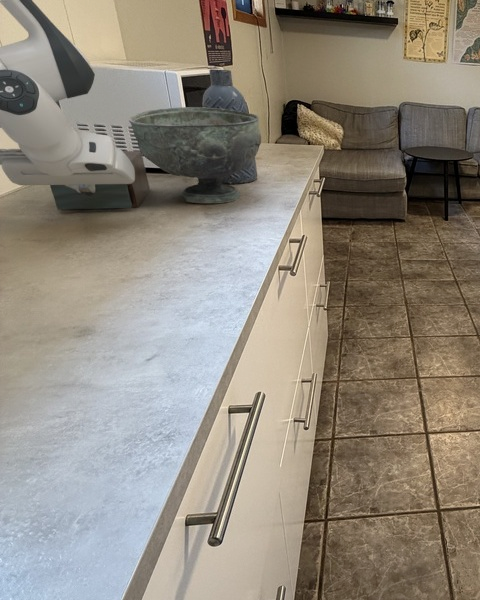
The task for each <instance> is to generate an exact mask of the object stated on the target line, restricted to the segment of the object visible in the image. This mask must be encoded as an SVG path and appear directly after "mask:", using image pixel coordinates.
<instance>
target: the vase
mask: <svg viewBox="0 0 480 600" xmlns="http://www.w3.org/2000/svg"><path fill="white" fill-rule="evenodd" d="M208 71H209V77H210V85H209V87H207V88H206V90H205V91H204V93H203V95H202V107H206V108H217V109H227V110H235V111H238V112H245V113H248V114H249V110H248V109H249V108H248V106H247V102H246V99H245V97H244V96H243V94H242V93H241V92H240V90H239V89H238V88H236V87H235V86H234V84H233V77H232V71H231V70H230V69H215V68H214V69H213V68H211V69H210V68H209V70H208ZM257 179H258V168H257V161H256V157H255V158H254V159H253V160H252V161H251V163H250V164H248V165H247V166H246V167H245V168H243V169H242V170H240V171H238V172H236V173H233V174H231V175H228V176H224V177H219V181H220V182H221V183H223V184H228V185H237V184H246V183H251V182H255V181H256V180H257Z"/></svg>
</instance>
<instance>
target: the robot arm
mask: <svg viewBox="0 0 480 600" xmlns="http://www.w3.org/2000/svg"><path fill="white" fill-rule="evenodd" d="M0 4H1V5H2V6H3V8H4V9H5V10H6V11H7V12H8V13H9V14H10V15H11V16H12V17H13V18H14V19H15V20H16V22H18V23H19V25H20V26H21V27H22V28H23V29H24V31H26V32H27V34H28V36H27V38H25V39H23V40H19V41H16V42H13V43H9V44H6V45H2V46H0V129H2V131H3V132H4V133H5V134H6V135H7V136H8V137H9V138H10V139H11V140H12V141H13V142H15V143H16V144H17V145H18V148H0V166H1V169H2V171H3V173H4V174H5V176H6V177H7V179H8V180H9V181H10V182H11V183H13V184H14V185H18V186H50V185H65V186H68V187H70V188H73V189H76V191H77V192H78V193H94V192H95V184H131V183H133V182H134V181H135V170H134V167H133V165H132V163H131V161H130V160H129V158H128V157H127V156H126V155H125V153H124V152H123V151H124V150H121V149H120V148H119V147H116V146H115V142H114V141H115V140H114V139H113V138H112V137H111V136H109V135H105V134H101V133H100V134H99V133H93V132H89V131H85V130H82V129H79V128H75V127H73V126H72V125H71V124H70V123H69V120H68V118H67V116H66V114H65V113H64V112H63V110H62V109H61V107H60V106H59V105H58V104H57V102H60V101H62V100H65V99H72V98H76V97H81V96H84V95H88V94H89V93H90V91H91V88H92V87H93V84H94V81H95V72H94V70H93V68H92V65H91V63H90V61H89V60H88V58H87V57H86V55H85V54H84V52H82V51H81V49H79V48H78V46H76V45H75V43H73V42H72V40H70V39H69V38H68V37H66V35H65V34H64V33H62V32H61V30H60V29H58V27H57V26H56V25H55V24H54V23H53V22H52V21H51V20H50V18H48V16H47V15H46V14H45V13H44V12H43V11H42V9H41V8H39V6H38V5H37V4H36V3H35V2H34V0H0Z"/></svg>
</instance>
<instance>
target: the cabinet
mask: <svg viewBox="0 0 480 600" xmlns="http://www.w3.org/2000/svg"><path fill="white" fill-rule="evenodd" d="M122 151H123V152H124V153H125V155H126V156H127V157H128V158H129V160H130V161H131V163H132V165H133V167H134V170H135V181H134V182H133V183H131V184H128V185H129V189H130V193H131V197H132V201H131V202H132V207H130V208H129V209H136V208H137V209H138V208H139V207H140V206H141V204H142V202H143V201H144V200H145V198H146V197H147V195H148V193H149V192H150V190H151V188H150V184H149V179H148V175H147V171H146V170H147V169H146V165H145V162H144V156H143V155H142V153H141V151H140V150H122ZM101 209H103V210H105V209H108V208H97V209H96V210H101ZM69 210H71V211H72V210H75V209H64V210H63V211H69Z"/></svg>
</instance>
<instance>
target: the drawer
mask: <svg viewBox="0 0 480 600" xmlns="http://www.w3.org/2000/svg"><path fill="white" fill-rule="evenodd" d="M49 187H50V190H51V192H52V196H53V200H54V203H55V206H56V209H57V210H59V211H65V210H64V209H74V210H98V209H97V208H107V209H131V208H130V207H132V202H131V201H132V197H131V193H130V189H129V185H128V184H95V192H94V193H78V192H77V191H76V189H73V188H70V187H68V186H65V185H49Z"/></svg>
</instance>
